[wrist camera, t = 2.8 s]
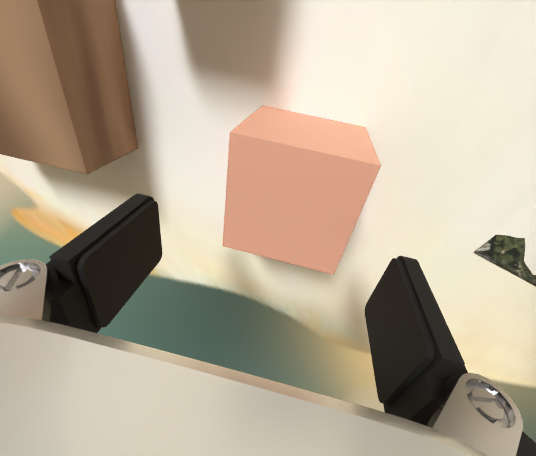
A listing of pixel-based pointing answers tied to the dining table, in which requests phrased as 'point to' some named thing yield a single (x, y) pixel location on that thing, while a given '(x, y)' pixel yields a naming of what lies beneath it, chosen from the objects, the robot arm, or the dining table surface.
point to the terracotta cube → (296, 186)
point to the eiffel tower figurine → (508, 255)
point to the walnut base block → (64, 84)
